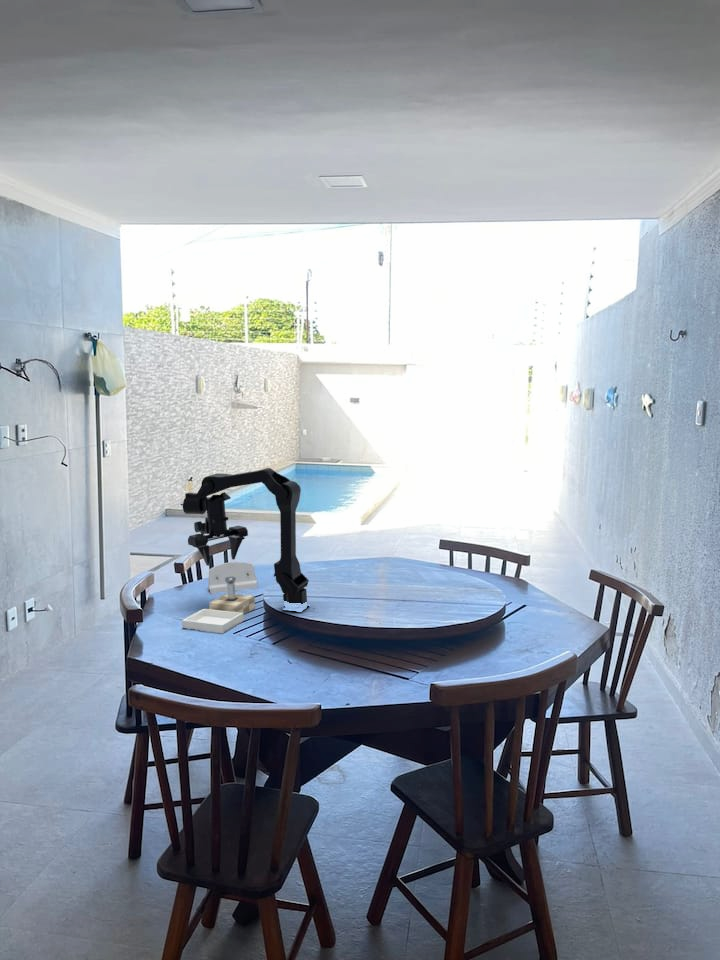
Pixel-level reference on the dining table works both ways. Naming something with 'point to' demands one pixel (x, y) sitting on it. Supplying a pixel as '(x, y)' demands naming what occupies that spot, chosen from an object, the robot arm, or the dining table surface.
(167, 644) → the dining table surface
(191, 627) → the tray
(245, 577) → the hinge
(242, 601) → the block
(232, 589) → the pin
